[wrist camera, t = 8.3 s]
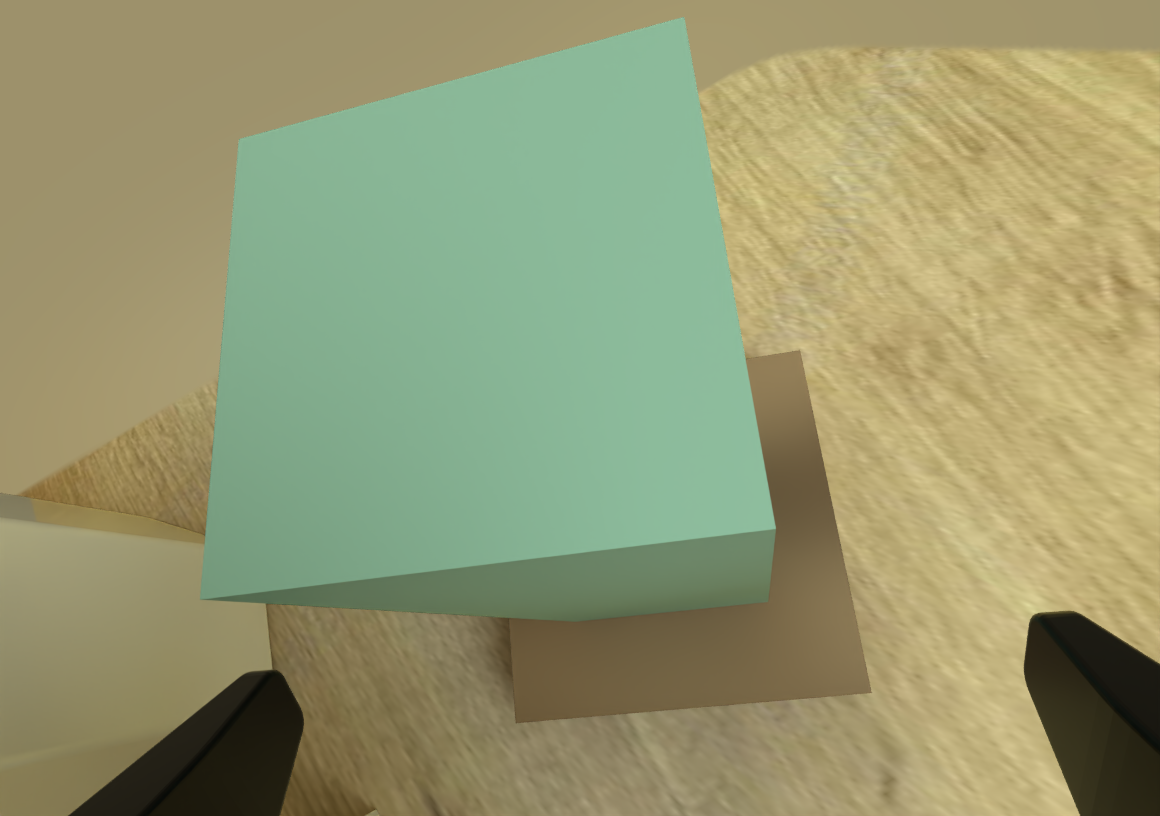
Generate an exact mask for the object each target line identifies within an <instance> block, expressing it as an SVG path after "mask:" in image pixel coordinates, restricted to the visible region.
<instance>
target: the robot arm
mask: <svg viewBox="0 0 1160 816" xmlns="http://www.w3.org/2000/svg"><path fill="white" fill-rule="evenodd" d="M1024 675H1025V681H1026V684H1027V687H1028V690H1029V693H1030V695H1031V697H1032V700H1033V702H1034V705H1035V707H1036V710H1037V712H1038V715H1039V717H1040V719H1041V722H1042V724H1043V727H1044V729H1045V732H1046V734H1047V736H1048V739H1049V741H1050V744H1051V746H1052V749H1053V751H1054V753H1055V756H1056V758H1057V761H1058V763H1059V766H1060V768H1061V770H1062V773H1063V775H1064V778H1065V780H1066V783H1067V785H1068V787H1069V790H1070V792H1071V795H1072V797H1073V800H1074V802H1075V804H1076V807H1077V809H1078V812H1079V814H1080V816H1160V664H1159V663H1158V662H1156V661H1154V660H1153V659H1151V658H1150V657H1148V656H1147V655H1145V654H1143V653H1142V652H1140V651H1139V650H1137V649H1135V648H1134V647H1132V646H1131V645H1129V644H1128V643H1126V642H1124V641H1123V640H1121V639H1120V638H1118V637H1117V636H1115V635H1113V634H1112V633H1110V632H1109V631H1107V630H1106V629H1104V628H1102V627H1101V626H1099V625H1098V624H1096V623H1094V622H1093V621H1091V620H1090V619H1088V618H1087V617H1085V616H1083V615H1081V614H1079V613H1077V612H1074V611H1058V612H1044V613H1037V614H1035V615H1033V616H1032V618H1031V619H1030V623H1029V628H1028V636H1027V644H1026V652H1025V660H1024ZM303 725H304V719H303V713H302V710H301V708H300V706H299V704H298V702H297V700H296V698H295V697H294V695H293V693H292V691H291V689H290V687H289V685H288V683H287V682H286V680H285V678H284V676H283V675H282V674H281V673H280V672H279V671H277V670H260V671H250V672H247V673H245V674H243V675H241V676H240V677H239V678H238V679H236V680H235V681H234V682H233V683H231V684H230V685H229V686H228V687H226V688H225V689H224V690H223V691H221V692H220V693H219V694H218V695H217V696H215V697H214V698H213V699H212V700H210V701H209V702H208V703H207V704H205V705H204V706H203V707H202V708H200V709H199V710H198V711H197V712H195V713H194V714H193V715H192V716H191V717H189V718H188V719H187V720H186V721H184V722H183V723H182V724H181V725H179V726H178V727H177V728H176V729H174V730H173V731H172V732H171V733H170V734H168V735H167V736H166V737H165V738H163V739H162V740H161V741H160V742H158V743H157V744H156V745H155V746H153V747H152V748H151V749H150V750H148V751H147V752H146V753H145V754H144V755H142V756H141V757H140V758H139V759H137V760H136V761H135V762H134V763H132V764H131V765H130V766H129V767H127V768H126V769H125V770H124V771H122V772H121V773H120V774H119V775H118V776H116V777H115V778H114V779H113V780H111V781H110V782H109V783H108V784H106V785H105V786H104V787H103V788H101V789H100V790H99V791H98V792H96V793H95V794H94V795H93V796H92V797H90V798H89V799H88V800H87V801H85V802H84V803H83V804H82V805H80V806H79V807H78V808H77V809H75V810H74V811H73V812H72V813H70V814H69V815H68V816H280V814H281V810H282V806H283V803H284V799H285V795H286V791H287V788H288V784H289V780H290V777H291V773H292V769H293V766H294V762H295V758H296V755H297V751H298V747H299V744H300V740H301V736H302V732H303Z"/></svg>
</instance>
